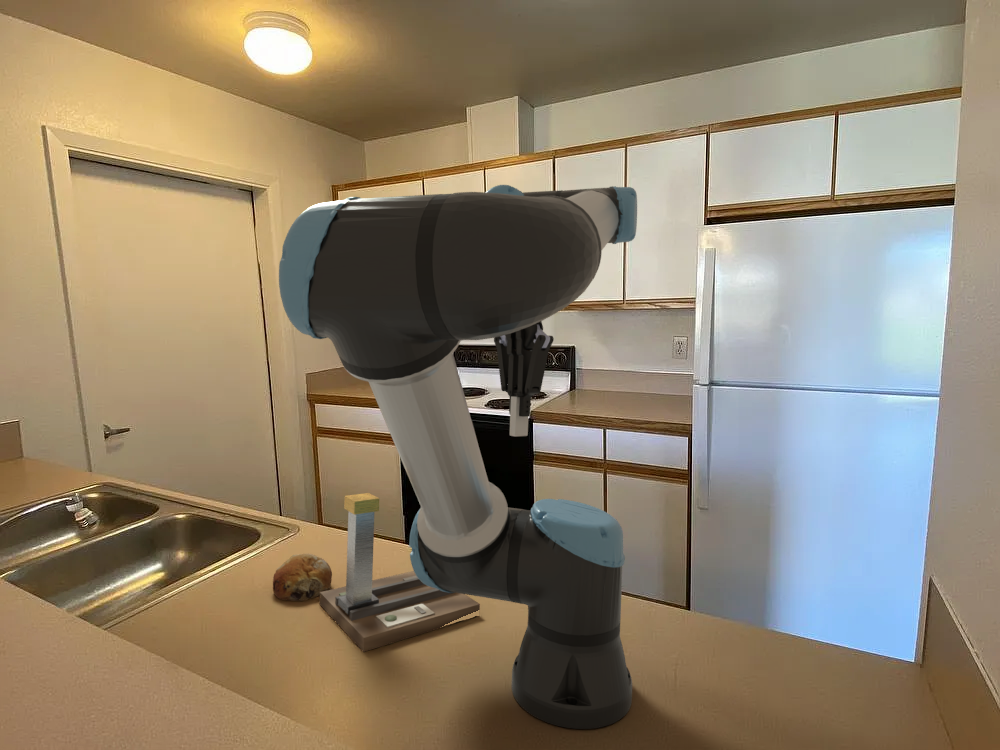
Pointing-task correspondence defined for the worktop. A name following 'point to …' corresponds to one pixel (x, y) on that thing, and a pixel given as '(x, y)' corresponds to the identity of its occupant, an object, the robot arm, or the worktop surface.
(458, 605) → the switch board
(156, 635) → the worktop surface
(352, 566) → the lever
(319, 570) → the bread roll
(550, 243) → the robot arm
